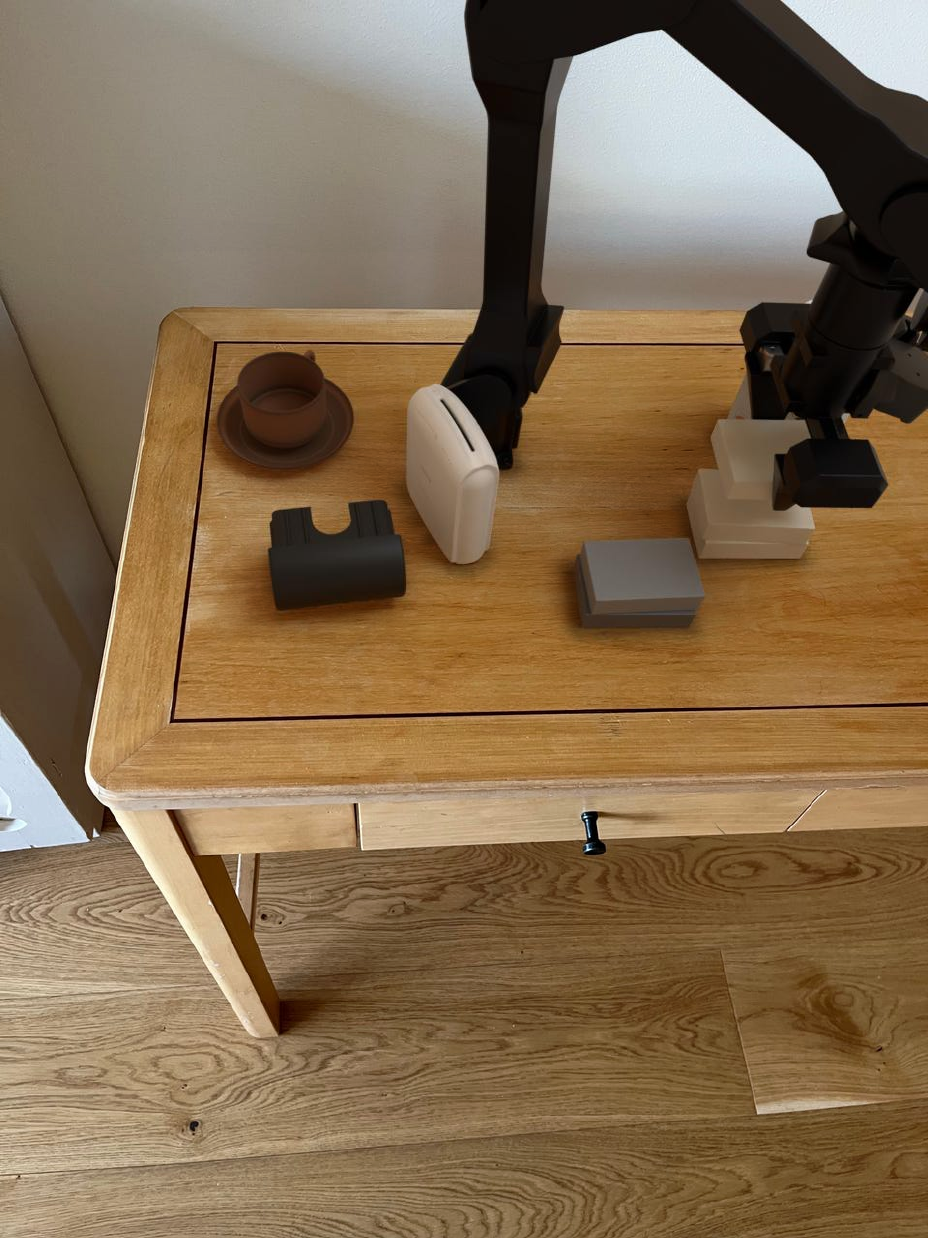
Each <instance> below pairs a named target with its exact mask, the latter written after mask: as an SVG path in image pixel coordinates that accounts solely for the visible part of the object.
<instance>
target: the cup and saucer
mask: <svg viewBox="0 0 928 1238" xmlns="http://www.w3.org/2000/svg"><path fill="white" fill-rule="evenodd" d="M316 361H317V358H316V354H315V352H314V350H312V349H308V350H306V351H305V352H304V353H303V354H301V353H298V352H292V351H273V352H267V353H264V354H260V355H259V356H256V357H254V358H253V359H251V360H250V361H248V362H247V363H246V364H245V365H244V366H243V367H242V368H241V370H240V371H239V374H238V376H237V381H236V383H237V384H236V385H235V386H234V387H233V388H231V390H230V391H229V392H228V393H226V395H225V396H224V398H223V399H222V401H221V403H220V405H219V407H218V410H217V414H216V428H217V431H218V435H219V437H220V439H221V440H222V443H223V444H224V446H225V447H226V448H227V450H229V452H230V453H231V454H232V455H233V456H235V457H236V458H238V459H239V460H240V461H242V462H244V463H246V464H248V465H251V466H253V467H256V468H259V469H264V470H269V471H275V472H276V471H277V472H290V471H293V472H294V471H300V470H305V469H308V468H311V467H314V466H317V465H319V464H322V463H324V462H326V461H327V460H329V459H331V458H333V457H334V456H335V455H336V454H337V453H338V452H339V451H340V450H341V449H342V448H343V447H344V446H345V445H346V443H347V441H348V440H349V439H350V436H351V434H352V430H353V426H354V422H355V421H354V420H355V415H354V409H353V405H352V403H351V401H350V399H349V397H348V395H347V394H346V393H345V392H344V391H343V389H341V388H340V387H339V386H338V385H337V384H336V383H334V382H333V381H331V380H329V379H327V378H326V377H325V373H324V372H323V369H321V367H320V366H319V364H318V363H317V362H316Z"/></svg>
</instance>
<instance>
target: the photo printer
mask: <svg viewBox="0 0 928 1238" xmlns="http://www.w3.org/2000/svg"><path fill="white" fill-rule="evenodd" d="M406 413H407V414H406V417H407V418H406V448H405V449H406V454H405V456H406V457H405V460H406V462H405V483H406V489H407V493H408V495H409V497H410V498H411V501H412V503H413V506H414V507H415V508H416V510H417V512H418V514H419V516H420V518H421V520H422V521H423V524H424V525H425V527H426V528H427V530H428V531H429V533H430V535H431V536H432V538H433V540H434V541H435V542H436V544H437V546H438V547H439V549H440V551H441V552H442V553H443V555H444V556H445V558H446V559H447V560H448V561H449V562H450V563H455V564H458V565H467V564H472V563H474V562H477V561H478V560H480V559H481V558H482V557H483V556H484V555H485V552H486V551H488V550H489V549H490V545H491V540H492V539H491V538H492V530H493V524H494V523H493V522H494V516H495V510H496V509H495V508H496V501H497V494H498V488H499V481H500V469H498V465H497V461H496V457H495V455H494V453H493V451H492V448H491V446H490V444H489V442H488V440H487V439H486V437H485V435H484V433H483V432H482V430H481V428H480V426H479V425H478V424H477V421H476V420H475V419H474V418H473V416H472V415H471V413H470V412H469V410H468V409H467V408H466V407H465V405H464V404H463V403H462V402H461V401H460V400H459V399H458V397H457V396H456V395H454V394H453V393H452V392H451V391H450V390H448V389H447V388H445V387H443V386H442V385H440V384H439V383H433V384H431V385H428V386H422V387H420V388H419V389H418V390H416V391H415V393H414V394H413V395H412V397H411V398H410V400H409V402H408V404H407V411H406Z"/></svg>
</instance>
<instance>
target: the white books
mask: <svg viewBox="0 0 928 1238" xmlns="http://www.w3.org/2000/svg"><path fill="white" fill-rule="evenodd" d="M691 488H692V490H691V492H690V494H689V497H688V499H687V501H686V511H687V513H688V518H689V522H690V527H691V532H692V537H693V540H694V545H695V549H696V554H697V558H698V559H747V560H749V559H751V560H752V559H753V560H754V559H755V560H756V559H757V560H759V559H760V560H761V559H762V560H763V559H764V560H765V559H766V560H767V559H768V560H770V559H771V560H776V559H777V560H782V559H783V560H799V559H801V557H802V556H803V554H804V553H805V551H806V550H807V547H808V546H809V545H810V542H809V540H810V538H811V536H812V535H813V534H814V531H815V530H816V526H815V522H814V518H813V514H812V510H811V509H812V508H801V507H800V506H798V505H797V504H795V505H794V506H792V507H791V508H789V509H788V510H786V511H774V510H773V508H772V500H727V499H726V496H725V492H724V488H723V485H722V481H721V477H720V473H719V469H715V468H714V469H712V468H698V470H697V472H696V474H695V477H694V479H693V482H692V484H691Z"/></svg>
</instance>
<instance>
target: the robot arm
mask: <svg viewBox="0 0 928 1238" xmlns="http://www.w3.org/2000/svg"><path fill="white" fill-rule="evenodd" d="M464 5H465V6H464V12H463V21H464V22H463V23H464V30H465V31H464V32H465V38H466V46H467V53H468V58H469V59H468V60H469V68H470V73H471V79H472V82H473V84H474V87H475V88H476V91H477V93H478V96H479V97H480V101H481V102H482V105H483V108H484V109H485V111H486V117H487V140H486V142H487V143H486V176H485V178H486V179H485V180H486V181H485V211H484V213H485V214H484V242H483V244H484V247H483V248H484V251H483V279H482V280H483V282H482V283H483V284H482V286H483V287H482V301H481V302H482V303H481V306H480V310H479V313H478V316H477V319H476V322H475V325H474V328H473V331H472V332H471V333H469V334H468V335H467V337H466V339H465V341H464V342H463V343H462V346H461V348H460V349H459V351H458V352H457V354H456V356H455V358H454V360H453V361H452V362H451V365H450V367H449V368H448V370H447V372H446V373H445V375H444V377H443V379H442V380H441V382H440V384H439V385H442V386H443V387H445V388H447V389H448V390H450V391H451V392H452V393H453V394H454V395H456V396H457V397H458V399H459V400H460V401H461V402H462V403H463V404H464V405H465V407H466V408H467V409H468V410H469V412H470V413H471V415H472V416H473V418H474V419H475V420H476V421H477V424H478V425H479V426H480V428H481V430H482V432H483V433H484V435H485V437H486V439H487V440H488V442H489V444H490V446H491V448H492V451H493V453H494V455H495V457H496V461H497V465H498V469H499V470H510V469H512V468H513V466H514V453H513V450H516V449H517V448H518V447H519V441H520V435H521V431H522V423H523V419H524V416H523V408H524V407H525V405H526V404H527V403H528V400H529V399H530V397H531V395H532V394H534V395H538V393H539V390H540V389H541V386H542V385H543V383H544V381H545V378H546V377H547V374H548V373H549V370H550V368H551V366H552V364H553V362H554V360H555V358H556V356H557V354H558V352H559V349H560V348H561V346H562V344H563V342H562V337H561V335H560V324H561V320H562V317H563V315H564V311H565V306H564V305H558V304H549V303H548V301H547V298H546V297H545V295H544V292H543V287H542V286H543V285H542V282H543V272H544V271H543V270H544V259H545V248H546V238H547V226H548V215H549V203H550V193H551V180H552V171H553V170H552V168H553V161H554V160H553V158H554V148H555V147H554V146H555V136H556V125H557V122H556V121H557V116H558V115H557V114H558V106H559V101H560V97H561V94H562V92H563V88H564V86H565V83H566V79H567V77H568V75H569V72H570V69H571V65H572V63H573V59H574V57H577V56H580V55H582V54H587V53H588V52H591V51H594V50H597V49H599V48H602V47H605V46H607V45H611V44H614V43H615V42H618V41H621V40H624V39H627V38H630V37H632V36H635V35H639V34H644V33H645V34H647V33H652V32H660V31H663V32H664V33H665V34H667V35H668V36H669V37H670V38H671V39H672V40H674V41H675V42H676V43H677V44H678V45H680V46H681V47H682V48H683V49H684V50H685V51H687V52H688V54H690V55H691V56H692V57H694V59H696V60H697V61H698V62H699V63H701V64H702V65H703V66H704V67H705V68H707V69H708V70H709V71H710V72H711V73H713V74H714V75H715V76H716V77H717V78H718V79H719V80H721V81H722V82H723V83H724V84H725V85H727V86H728V87H729V88H730V89H731V90H732V91H733V92H735V93H736V94H737V95H738V96H739V97H741V98H742V99H743V100H744V101H745V102H747V104H749V105H750V106H751V107H752V108H754V109H755V110H756V111H757V112H758V113H760V115H762V116H763V117H764V118H766V119H767V121H769V122H770V123H771V124H772V125H774V126H775V127H776V128H777V129H779V130H780V132H782V133H783V134H784V135H785V136H786V137H788V138H789V140H791V141H793V142H794V143H795V144H796V145H797V146H798V147H799V148H801V150H803V151H804V152H806V153H807V154H808V155H809V156H810V157H811V158H812V160H813V161H814V162H815V163H816V165H817V166H818V167H819V168H820V170H821V171H822V173H823V174H824V177H825V179H826V180H827V182H828V184H829V186H830V188H831V191H832V193H833V194H834V196H835V198H836V200H837V203H838V205H839V207H840V208H841V211H840V212H838V213H834V214H828V215H826V216H823V217H819V218H817V219H816V220H814V224H813V226H812V230H811V233H810V236H809V241H808V243H807V248H806V255H807V257H808V258H811V259H814V260H818V261H821V262H823V263H828V266H827V269H826V271H825V273H824V275H823V277H822V279H821V281H820V283H819V285H818V287H817V290H816V292H815V294H814V297H813V298H812V300H813V301H812V303H811V304H806V302H804V303H803V302H801V303H800V302H773V301H772V302H771V301H770V302H769V301H767V302H765V301H761V302H760V303H758V304H757V305H755V306H753V307H752V308H750V309H748V310H747V311H746V312H745V315H744V317H743V320H742V322H741V324H740V327H739V329H738V330H739V334H740V338H741V341H742V343H743V347H744V350H745V354H744V362H745V369H746V372H747V380H748V389H749V399H750V409H751V420H785V418H786V417H787V415H788V414H789V412H791V414H792V417H793V419H795V420H805V422H806V425H807V428H808V431H809V434H810V437H811V438H807V439H805V440H803V441H801V442H799V443H797V444H795V445H793V446H792V447H790V448H789V450H788V452H787V454H775V455H774V473H773V490H772V508H773V510H774V511H786V510H788V509H789V508H791V507H792V506H794V505H795V504H797V505H798V506H800V507H801V508H810V509H815V508H816V509H822V508H823V509H824V508H825V509H826V508H827V509H872V508H873V507H874V506H875V505H876V504H877V503H878V501H879V500H880V498H881V497H882V495H883V494H884V493H885V491H886V490H887V488H888V487H889V482H888V479H887V477H886V474H885V471H884V468H883V466H882V463H881V461H880V459H879V456H878V454H877V451H876V449H875V447H874V445H873V444H872V442H871V441H870V440H869V439H867V438H865V439H864V438H863V439H862V438H858V439H857V438H850V435H849V434H848V431H847V429H846V425H845V424H844V422H843V420H842V415H843V414H844V413H847V414H850V415H849V417H850V418H851V419H861V420H862V419H865V420H866V419H867V420H868V419H869V417H870V416H871V414H872V413H873V412H874V410H875V411H877V412H879V413H882V414H885V415H887V416H891V417H893V418H896V419H899V421H900V422H901V423H904V424H906V425H908V424H909V425H910V424H912V423H913V422H915V420H916V419H918V418H919V417H920V416H921V415H922V414H923V413H924V412H926V411H927V410H928V100H927V99H926V98H923V97H922V96H920V95H918V94H916V93H912V92H911V93H910V92H906V91H902V90H897V89H893V88H889V87H887V86H884V85H882V83H879V82H878V81H876V80H874V79H872V78H870V77H869V76H867V75H866V74H865V73H864V72H862V71H861V70H860V69H859V68H858V67H857V66H855V65H854V63H852V62H851V61H850V60H849V59H848V58H847V57H845V56H844V55H843V53H842V52H840V51H839V50H838V49H837V48H835V47H834V46H833V45H832V44H831V43H829V41H828V40H827V39H825V38H824V37H823V36H822V35H821V34H820V33H818V32H817V31H816V30H815V29H814V28H813V27H811V25H810V24H808V22H806V21H805V20H804V19H803V18H801V16H799V15H798V14H797V13H796V12H795V11H794V10H792V9H791V8H790V6H788V5H787V4H786V3H785V2H784V1H783V0H465V4H464ZM920 289H922V292H921V294H920V296H919V298H918V301H917V303H916V305H915V308H914V311H913V313H912V316H909V315H907V312H908V310H909V308H910V307H911V304H912V303H913V301H914V299H915V298H916V296H917V294H918V293H919V290H920ZM920 333H921V334H920Z"/></svg>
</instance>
